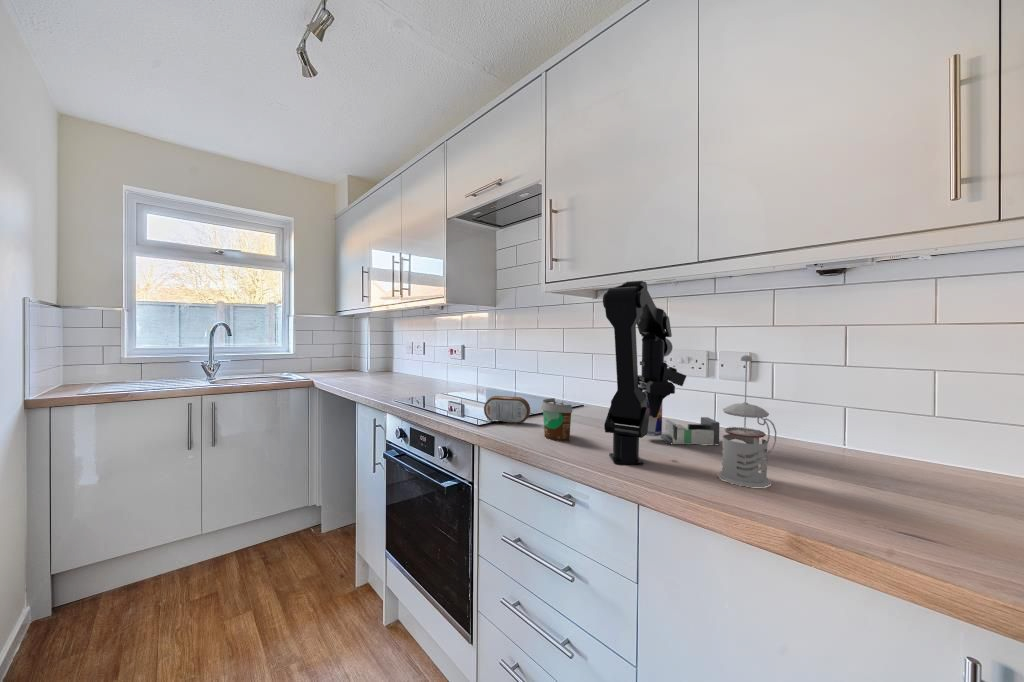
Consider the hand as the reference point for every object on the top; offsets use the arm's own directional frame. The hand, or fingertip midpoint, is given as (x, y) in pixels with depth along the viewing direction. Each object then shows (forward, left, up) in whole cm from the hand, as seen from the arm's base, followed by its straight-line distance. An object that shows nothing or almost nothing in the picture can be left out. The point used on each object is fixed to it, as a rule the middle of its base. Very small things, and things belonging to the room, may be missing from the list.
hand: (651, 415), depth 111 cm
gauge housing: (0, -10, -7) cm, 12 cm away
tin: (+18, +41, -7) cm, 45 cm away
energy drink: (0, 0, -5) cm, 5 cm away
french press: (-28, -11, -7) cm, 31 cm away
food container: (+1, +27, -7) cm, 28 cm away
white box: (-1, -7, -6) cm, 9 cm away
